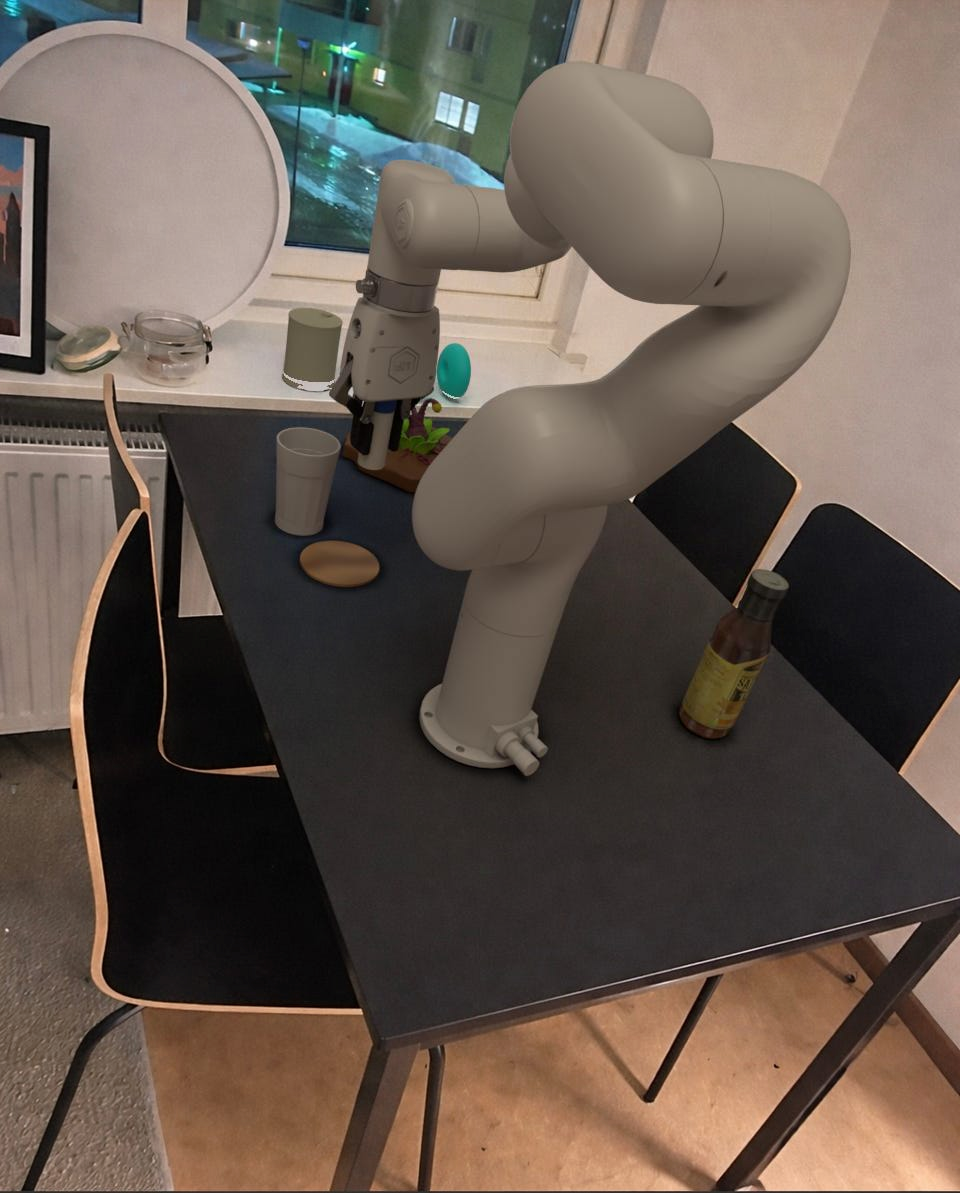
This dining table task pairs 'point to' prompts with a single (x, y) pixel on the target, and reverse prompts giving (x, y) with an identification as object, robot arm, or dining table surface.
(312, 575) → the coaster
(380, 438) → the marker
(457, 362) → the teal oval lobes
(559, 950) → the dining table surface
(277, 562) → the dining table surface
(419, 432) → the plant
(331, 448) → the cup
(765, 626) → the sauce bottle
